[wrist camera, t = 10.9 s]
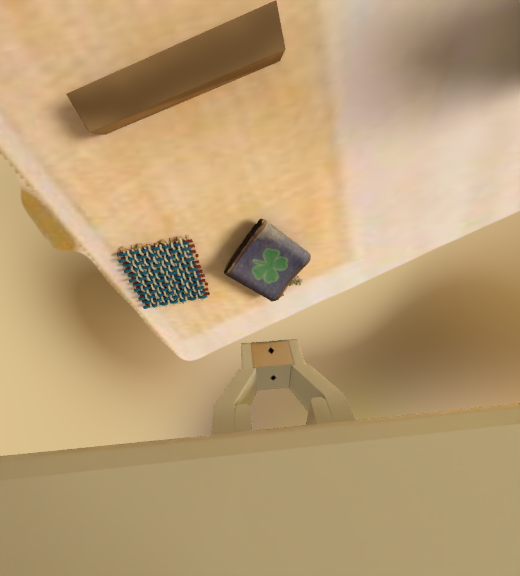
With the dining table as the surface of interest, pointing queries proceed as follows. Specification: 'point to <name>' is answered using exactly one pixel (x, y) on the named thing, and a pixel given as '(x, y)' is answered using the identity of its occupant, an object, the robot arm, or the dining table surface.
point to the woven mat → (165, 272)
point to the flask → (267, 261)
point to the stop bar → (182, 71)
